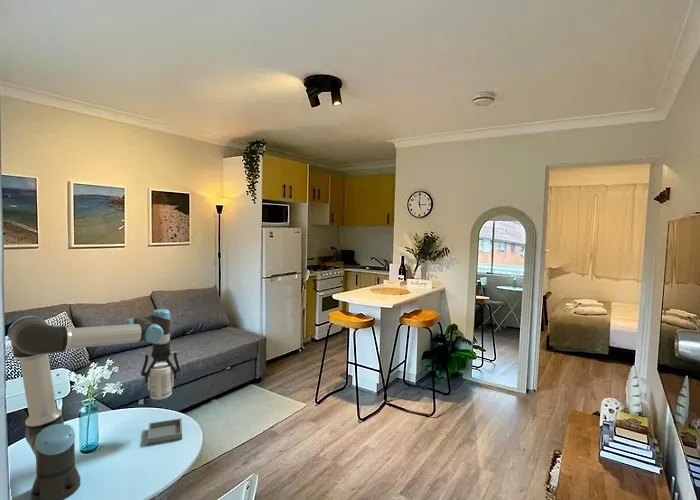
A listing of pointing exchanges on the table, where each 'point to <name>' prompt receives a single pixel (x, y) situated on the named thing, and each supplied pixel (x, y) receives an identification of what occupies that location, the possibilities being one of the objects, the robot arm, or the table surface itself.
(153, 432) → the tray
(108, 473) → the table surface
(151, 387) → the supplement tub
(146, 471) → the table surface
